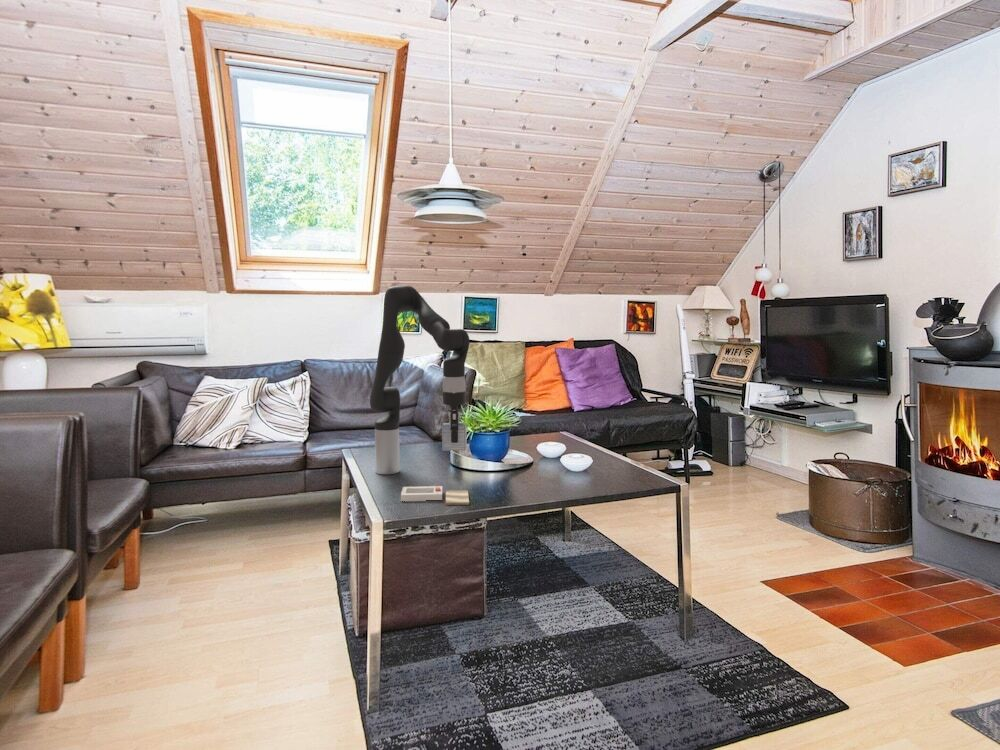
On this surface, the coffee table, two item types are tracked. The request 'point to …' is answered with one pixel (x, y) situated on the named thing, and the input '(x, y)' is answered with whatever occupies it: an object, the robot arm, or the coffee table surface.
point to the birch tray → (457, 497)
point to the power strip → (421, 493)
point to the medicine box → (447, 437)
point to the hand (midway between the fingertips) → (454, 440)
